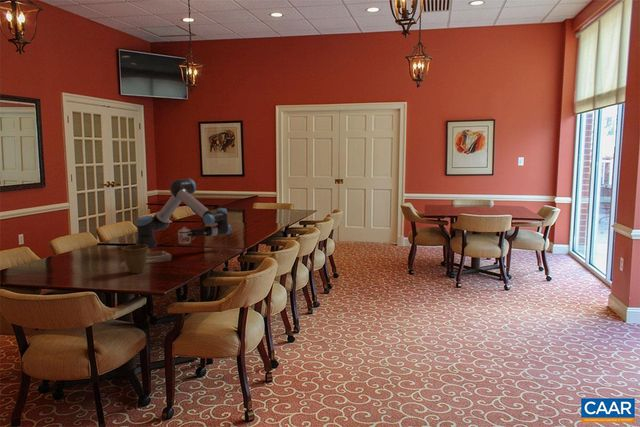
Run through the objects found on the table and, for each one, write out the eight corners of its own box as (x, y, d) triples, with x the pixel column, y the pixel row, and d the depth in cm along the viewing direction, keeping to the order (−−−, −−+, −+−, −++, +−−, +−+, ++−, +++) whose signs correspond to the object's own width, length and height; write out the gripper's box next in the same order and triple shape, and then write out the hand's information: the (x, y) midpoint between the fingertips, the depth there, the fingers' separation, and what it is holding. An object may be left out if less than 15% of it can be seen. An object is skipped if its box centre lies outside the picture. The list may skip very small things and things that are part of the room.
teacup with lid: (177, 244, 346) (177, 228, 344) (178, 241, 355) (178, 226, 353) (195, 243, 348) (194, 227, 346) (196, 241, 357) (195, 225, 355)
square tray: (134, 260, 338) (134, 254, 338) (163, 256, 350) (163, 250, 349) (141, 264, 325) (141, 258, 324) (171, 260, 336) (171, 254, 335)
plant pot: (140, 268, 316) (139, 243, 314) (153, 271, 307) (152, 246, 305) (119, 272, 305) (117, 247, 303) (131, 276, 295) (130, 250, 293)
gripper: (216, 238, 353) (186, 241, 340) (204, 233, 370) (175, 237, 358) (216, 227, 352) (185, 231, 339) (204, 223, 369) (174, 226, 357)
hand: (180, 234), depth 348 cm, fingers closed on teacup with lid, 9 cm apart
